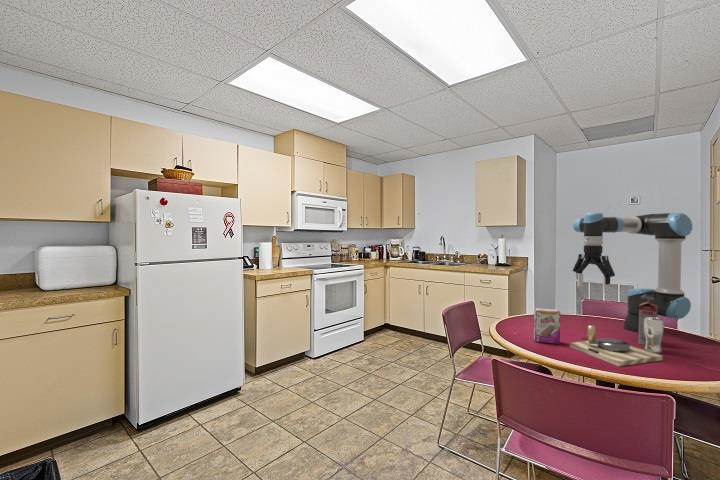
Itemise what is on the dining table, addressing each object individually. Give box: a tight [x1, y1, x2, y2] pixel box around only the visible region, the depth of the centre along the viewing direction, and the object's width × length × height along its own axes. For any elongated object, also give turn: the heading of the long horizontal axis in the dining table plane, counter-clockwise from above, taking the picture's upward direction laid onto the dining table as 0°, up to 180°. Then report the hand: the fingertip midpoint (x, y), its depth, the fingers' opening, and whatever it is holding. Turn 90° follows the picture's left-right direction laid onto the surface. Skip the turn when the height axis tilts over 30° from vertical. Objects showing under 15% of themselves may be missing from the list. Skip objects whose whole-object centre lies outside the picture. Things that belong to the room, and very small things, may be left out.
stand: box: [569, 340, 663, 367], centre depth 154 cm, size 24×24×3 cm
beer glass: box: [644, 317, 664, 354], centre depth 157 cm, size 7×7×15 cm
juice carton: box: [638, 298, 658, 346], centre depth 167 cm, size 7×7×22 cm
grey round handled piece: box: [580, 324, 630, 352], centre depth 156 cm, size 18×12×9 cm, turn 69°
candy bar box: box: [533, 307, 561, 345], centre depth 170 cm, size 11×5×16 cm, turn 71°
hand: (592, 288), depth 164 cm, fingers open, 13 cm apart
